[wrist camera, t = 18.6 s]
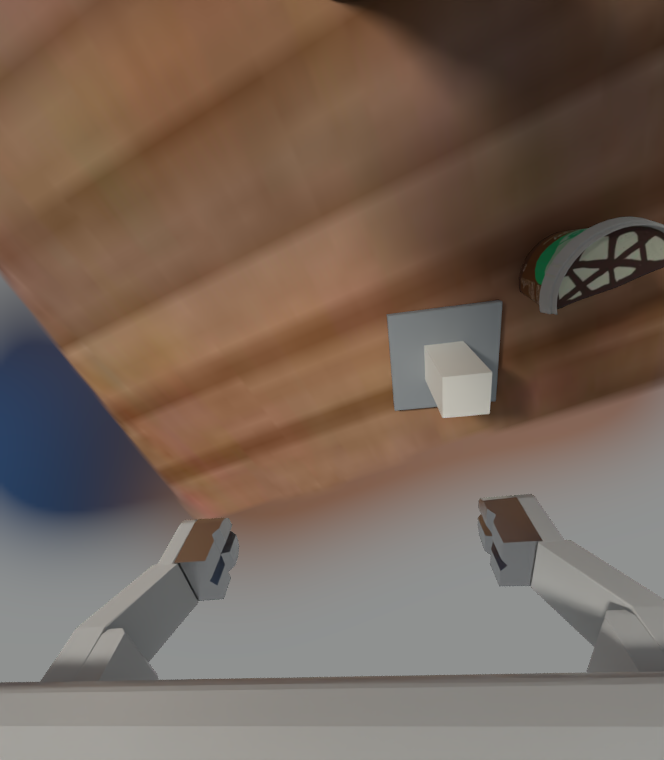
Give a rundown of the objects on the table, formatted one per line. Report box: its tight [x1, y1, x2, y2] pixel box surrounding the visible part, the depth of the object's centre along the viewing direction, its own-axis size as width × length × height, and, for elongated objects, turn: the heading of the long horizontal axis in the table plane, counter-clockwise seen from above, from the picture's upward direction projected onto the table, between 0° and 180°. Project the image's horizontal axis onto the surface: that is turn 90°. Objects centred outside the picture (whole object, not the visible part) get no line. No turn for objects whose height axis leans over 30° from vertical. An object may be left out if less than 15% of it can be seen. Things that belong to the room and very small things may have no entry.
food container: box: [519, 217, 664, 315], centre depth 34 cm, size 12×6×10 cm, turn 115°
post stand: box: [387, 300, 502, 411], centre depth 41 cm, size 14×14×8 cm
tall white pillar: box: [424, 341, 492, 418], centre depth 40 cm, size 5×5×10 cm
